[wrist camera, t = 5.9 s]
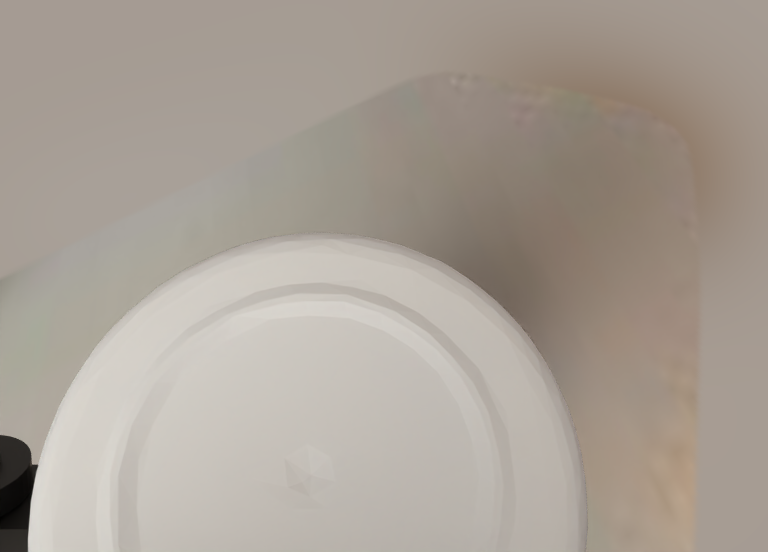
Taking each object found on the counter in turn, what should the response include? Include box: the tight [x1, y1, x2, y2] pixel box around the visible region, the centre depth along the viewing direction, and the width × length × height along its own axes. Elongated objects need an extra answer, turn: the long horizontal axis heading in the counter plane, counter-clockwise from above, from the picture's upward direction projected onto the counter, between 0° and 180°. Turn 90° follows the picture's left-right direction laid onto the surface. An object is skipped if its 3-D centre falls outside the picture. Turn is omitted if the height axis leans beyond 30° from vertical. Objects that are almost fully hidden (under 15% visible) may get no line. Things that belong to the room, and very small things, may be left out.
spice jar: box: [28, 232, 588, 552], centre depth 11 cm, size 5×5×13 cm
